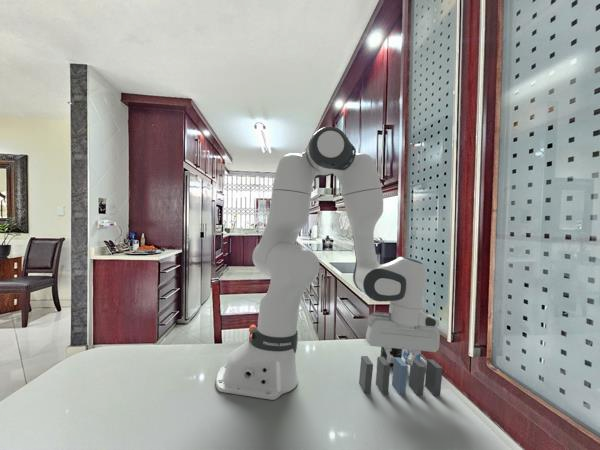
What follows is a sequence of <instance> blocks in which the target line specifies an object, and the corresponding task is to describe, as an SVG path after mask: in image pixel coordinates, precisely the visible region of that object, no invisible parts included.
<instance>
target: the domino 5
mask: <svg viewBox="0 0 600 450" xmlns="http://www.w3.org/2000/svg"><path fill="white" fill-rule="evenodd" d="M425 367H426V368H425V378H424V387H425V388H426V389H427V390H428V391H429V393H431V395H433V397H441V391H442V378H443V366H441V365H440V364H438V362H437V361H435V360H434V359H428V358H427V360H426V366H425Z"/></svg>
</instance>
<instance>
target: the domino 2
mask: <svg viewBox="0 0 600 450" xmlns="http://www.w3.org/2000/svg"><path fill="white" fill-rule="evenodd" d="M376 361H377V362H376V373H375V374H376V375H375V385H376V387H377V386H378V387H377V389H378V390H379V392H380V391H381V392H380V393H381V395H389V387H390V374H391V373H390V371H391V367H390V364H389V363H388V362H387V360H386V359H385V358H384V357H380V356H377V359H376ZM383 393H384V394H383Z"/></svg>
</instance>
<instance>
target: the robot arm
mask: <svg viewBox="0 0 600 450" xmlns="http://www.w3.org/2000/svg"><path fill="white" fill-rule="evenodd" d="M309 139H310V140H309V142H308V145H307V148H306V150H305V151H304V152H302V153H288V154H285V155H283V156H282V157H281V158H280V159H279V161H278V165H277V167H276V170H275V173H274V180H273V183H272V191H271V197H270V206H269V212H268V218H267V220H266V221H267V222H266V225H265V228H264V229H263V230H264V231H263V233H262V236H261V239H260V241H259V243H258V244H257V245H256V246H255V248H253V251H252V255H251V256H252V258H251V259H252V264H253V265H254V267H255V268H256V269H257V270H258V271H259V272H260V273H261V274H262V275H264V276H266V277H268V278H270V282H269V286H268V290H267V292H266V294H265V295H264V296H263V297H262V298H261V299H260V301H259V308H258V319H257V326H256V324H251V325H250V326H249V327H248V328H249V329H248V331H249V336H248V339H249V340H247V341H246V342H245V343H243V344H241V345H240V346H237V347H236V348H235V349H233V350H232V351H231V352H230V354H229V357H228V359H227V361H226V363H225V364H223V365H222V366H221V367H220V369H219V370H218V373H217V374H216V378H215V387H216V389H217V390H218V392H220V393H227V394H231V395H232V394H233V395H238V396H239V395H240V396H245V397H246V396H247V397H253V398H258V399H264V400H265V399H266V400H271V401H273V400H277V399H278V398H280V397H281V395H283V394H286V393H288V392H291V391H293V390H294V389H295V388H296V387H297V386H298V383H299V378H298V374H297V366H296V365H297V363H296V353H297V349H298V343H299V331H298V321H299V311H300V305H301V302H302V298H303V296H304V293H305V292H306V290H307V288H308V287H309V286H310V285H312V284H313V283H314V282H315V281H316V279H317V277H318V275H319V273H320V261H319V257H318V255H316V253H314V252H313V251H311V249H309V248H307V247H305V246H304V245H302V244H298V243H297V244H296V242H297V239H298V237H299V234H300V233H301V231H302V230H303V229H304V227H306V226H307V225H308V221H309V216H310V207H311V200H312V190H313V183H314V180H315V179H319V178H326V177H329V176H332V175H333V176H335V177H336V178H337V180H338V181H339V184H340V187H341V188H340V189H341V195H342V200H343V205H344V209H345V212H346V216H347V219H348V222H349V225H350V230H351V232H352V240H353V247H354V248H353V249H354V253H355V254H354V255H355V265H354V269H353V274H352V281H353V284H354V286H355V288H357V290H358V291H359V292H361V293H363V294H364V295H365V296H366V297H368V298H369V299H371V300H373V301H376V302H389V307H388V312H380V311H374V312H372V313H370V314H369V315H368V318H367V319H368V320H367V324H368V325H367V329H366V335H365V340H366V342H367V343H368V344H369V346H370V347H377V348H381V347H384V349H385V352H386V354H387V362H388V363H393V364H394V357H393V356H392V355H391V354H390V352H389V351H391V350H392V348H397V349H407V350H410V351H411V353H410V355H409V356H408V357H407V356H406V357H405V358H404V359H405V360H404V362H405V363H406V364H407V366H410V365H413V360H414V359H415V357H416V356H417V355H418V351H421V352H429V353H436V352H437V351H438V350H439V349H440V340H441V338H440V336H441V335H440V330H439V328H438V327H439V326H440V320H439V319H438V318H436V317H435V316H433V315H431V314H430V313H428V312H427V311H424V303H423V298H424V295H425V293H426V283H427V281H426V280H427V279H426V278H427V272H426V267H425V265H424V263H422V262H421V261H419V260H416V259H414V258H410V257H407V256H397V258H395V259H394V260H390V261H389V262H386V263H383V264H380V262H379V261H378V259H377V251H376V245H375V239H374V238H375V237H374V235H375V234H374V231H375V228H376V225H377V223H378V221H379V220H380V219H381V217H382V215H383V214H384V213H383V212H384V194H383V188H382V184H381V178H380V176H379V175H380V174H379V172H378V169H377V166H376V164H375V161H374V159H373V158H372V157H371V156H370V155H369V154H367V153H362V152H357V149H356V147H355V146H354V145H353V144H352V143H351V141H350V139H349V138H348V137H347V135H346V133H345V132H344V131H343V130H341V129H340V128H338V127H335V126H324V127H322V128H320V129H318V130H317V131H316V132H314V134H313V135H312V136H311V138H309Z"/></svg>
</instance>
